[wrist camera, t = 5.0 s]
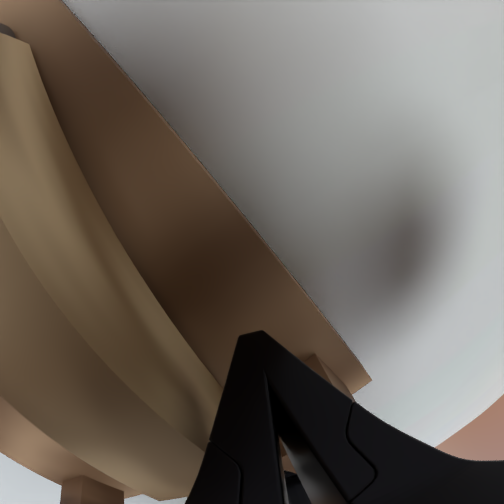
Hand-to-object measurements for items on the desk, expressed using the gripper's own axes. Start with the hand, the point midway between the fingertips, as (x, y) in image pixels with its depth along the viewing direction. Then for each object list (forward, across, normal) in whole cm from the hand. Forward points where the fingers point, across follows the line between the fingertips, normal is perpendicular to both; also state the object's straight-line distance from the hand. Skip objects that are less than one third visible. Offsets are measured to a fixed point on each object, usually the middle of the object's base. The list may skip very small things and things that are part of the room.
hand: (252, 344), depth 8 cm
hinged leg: (+1, +4, -3) cm, 5 cm away
